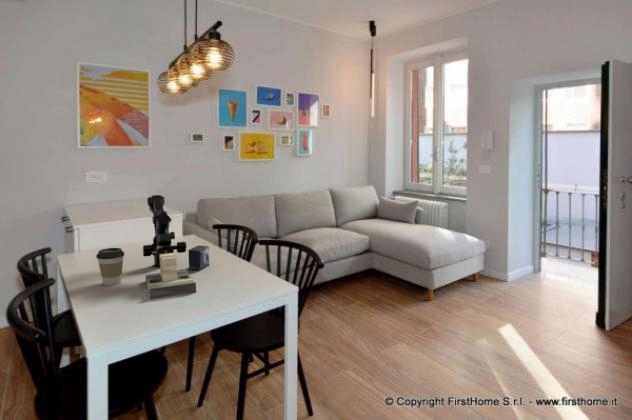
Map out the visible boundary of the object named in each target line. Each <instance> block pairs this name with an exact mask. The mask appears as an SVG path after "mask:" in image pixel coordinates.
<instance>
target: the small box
mask: <svg viewBox="0 0 632 420" xmlns="http://www.w3.org/2000/svg"><path fill="white" fill-rule="evenodd" d="M209 266H210V246H209V245H196V246H194V247H192V248H190V249H188V271H197V272H199V271H202V270H204V269H205V268H207V267H209Z"/></svg>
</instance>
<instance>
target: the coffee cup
mask: <svg viewBox="0 0 632 420" xmlns="http://www.w3.org/2000/svg"><path fill="white" fill-rule="evenodd" d="M124 256H125V252H124V251H123V249H122V248H120V247H108V248H102V249H99V250H98V252H97V254H96V256H95V257H96V259H97V261H98V266H99V271H100V274H101V281H102V283H103V285H104V286H113V285H114V286H115V285H118V284H120V283H122V279H123V278H122V277H123V264H124V263H123V262H124Z"/></svg>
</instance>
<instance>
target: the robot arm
mask: <svg viewBox="0 0 632 420" xmlns="http://www.w3.org/2000/svg"><path fill="white" fill-rule="evenodd" d="M165 204H166V203H165V196H163V195H161V194H154V195H151V196H149V197H147V200H146V205H147V206H148V209H149V211H150V212H151V213H152V220H151V221H152V224H153V227H154V234H155V235H154V236H153V238H152V243H151V244H144V245H143V246H142V255H143V257H151V256H153V260H154V261H153V263H154V264H152V267H156V268H160V255H159V254H166V253H174V252H175V251H176V252H177V253H178V254H181V253H182V254H183V253H186V252H187V243H186V241H178V242H176V244H173V245H172V243H173V242H172V240H175V238H176V235H175V234H176V233H175V231H170V223H171V222H172V218H171V216H170V215H169V214H168V212H167V211H165V210H164V206H165ZM174 254H175V253H174Z"/></svg>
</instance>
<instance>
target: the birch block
mask: <svg viewBox="0 0 632 420" xmlns="http://www.w3.org/2000/svg"><path fill="white" fill-rule="evenodd" d="M159 255H160V267H159V268H160V269H159V270H160V271H159V273H160V274H161V278H162V281H171V280H177V271H178V266H177V256H176V254H175V253H166V254H159Z"/></svg>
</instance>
